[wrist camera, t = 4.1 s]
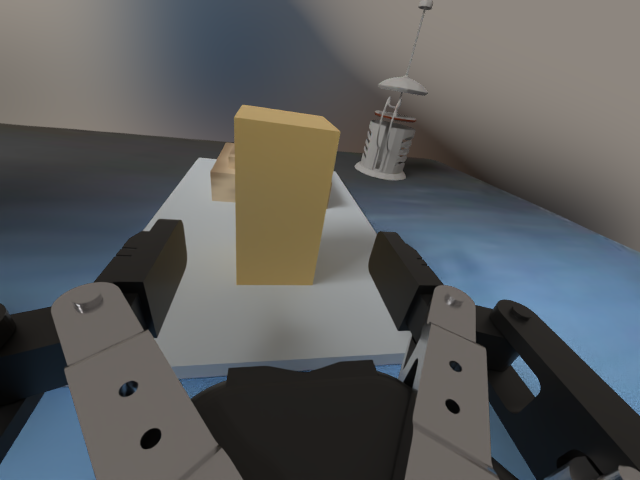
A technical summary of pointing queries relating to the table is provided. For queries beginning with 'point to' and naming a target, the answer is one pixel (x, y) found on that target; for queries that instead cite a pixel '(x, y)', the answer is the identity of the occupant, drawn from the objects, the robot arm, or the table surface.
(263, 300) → the white rectangular board
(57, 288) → the table surface
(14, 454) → the table surface
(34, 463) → the table surface
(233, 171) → the beech base slab
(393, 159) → the french press
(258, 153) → the ochre pillar
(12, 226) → the table surface
